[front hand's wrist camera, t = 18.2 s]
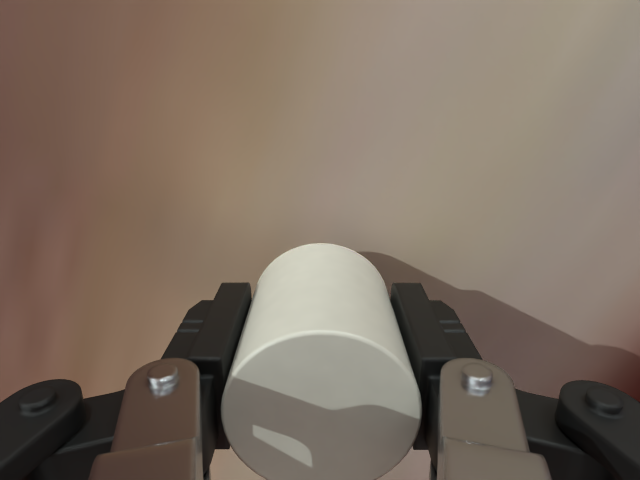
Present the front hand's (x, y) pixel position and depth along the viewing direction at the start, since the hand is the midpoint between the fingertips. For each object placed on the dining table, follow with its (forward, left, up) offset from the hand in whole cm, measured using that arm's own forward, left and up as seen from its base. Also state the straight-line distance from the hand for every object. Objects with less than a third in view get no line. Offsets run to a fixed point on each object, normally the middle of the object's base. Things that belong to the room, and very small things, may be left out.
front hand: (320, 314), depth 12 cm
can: (0, 0, -1) cm, 1 cm away
